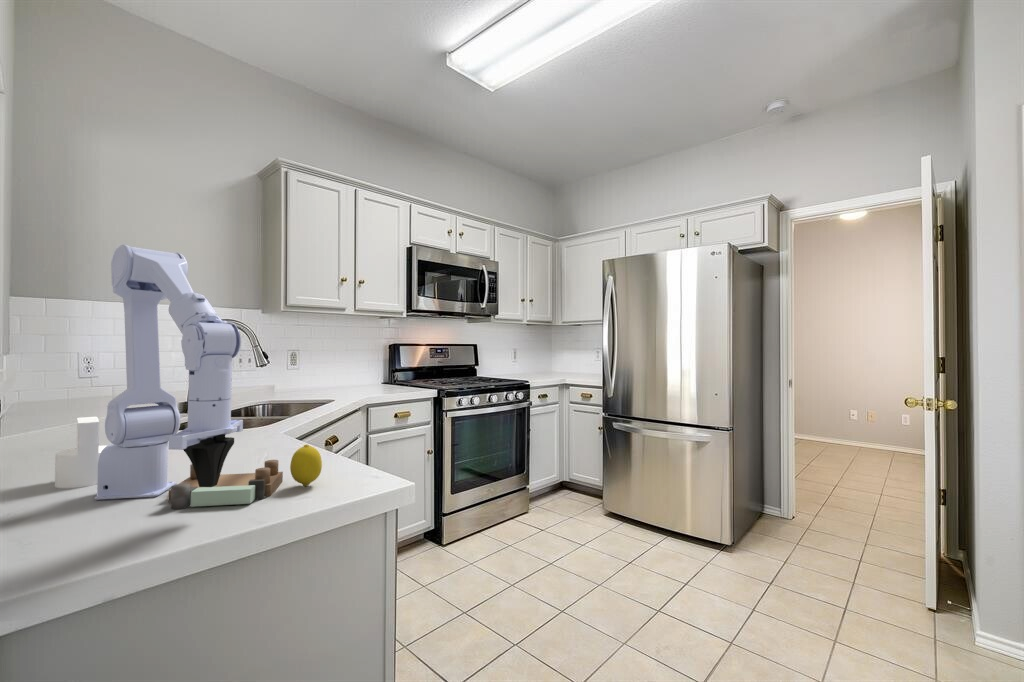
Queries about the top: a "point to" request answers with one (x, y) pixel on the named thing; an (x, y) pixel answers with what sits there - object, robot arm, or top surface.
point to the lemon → (306, 465)
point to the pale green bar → (222, 495)
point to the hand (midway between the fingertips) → (208, 485)
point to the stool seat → (230, 484)
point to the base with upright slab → (80, 457)
